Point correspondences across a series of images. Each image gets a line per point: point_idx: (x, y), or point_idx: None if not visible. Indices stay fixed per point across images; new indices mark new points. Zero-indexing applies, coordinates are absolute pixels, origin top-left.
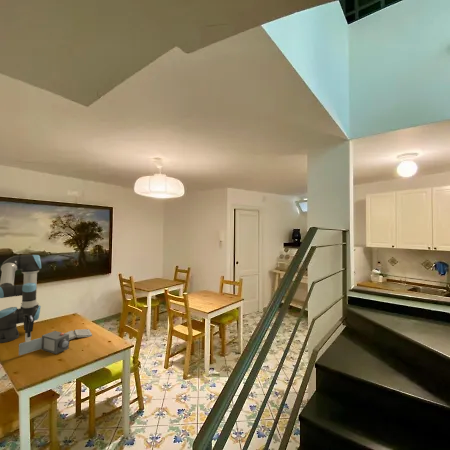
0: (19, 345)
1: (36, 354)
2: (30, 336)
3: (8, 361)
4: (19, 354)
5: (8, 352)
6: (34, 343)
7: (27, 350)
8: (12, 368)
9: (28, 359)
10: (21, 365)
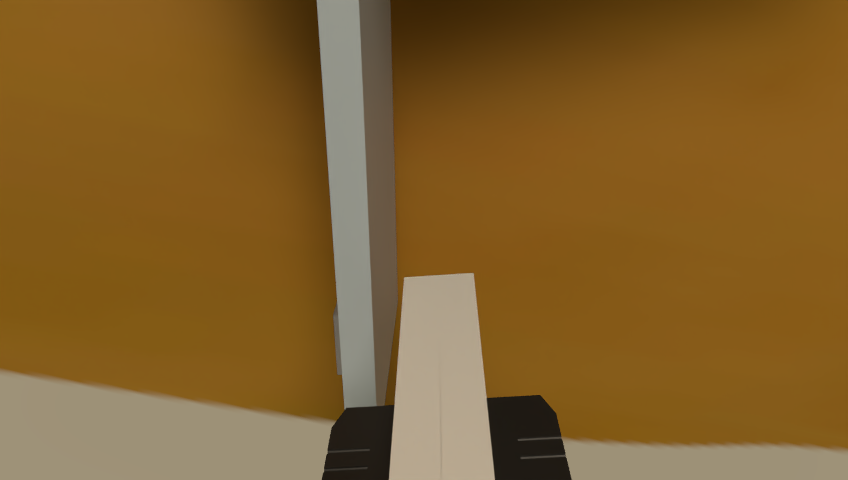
0: None
1: (510, 43)
2: (483, 375)
3: None
4: (396, 304)
5: (23, 333)
6: (375, 109)
7: (390, 202)
8: (734, 413)
9: (618, 200)
10: (755, 321)
